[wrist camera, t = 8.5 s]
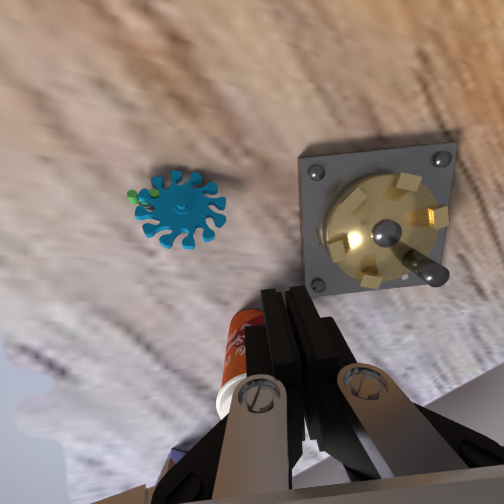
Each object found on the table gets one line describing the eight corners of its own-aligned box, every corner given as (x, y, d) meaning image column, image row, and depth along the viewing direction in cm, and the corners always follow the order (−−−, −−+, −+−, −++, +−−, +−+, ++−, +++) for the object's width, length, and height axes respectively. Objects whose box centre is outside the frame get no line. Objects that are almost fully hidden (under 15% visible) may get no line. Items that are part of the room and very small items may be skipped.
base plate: (297, 157, 35) (302, 159, 33) (446, 142, 35) (461, 142, 33) (302, 290, 42) (306, 300, 39) (428, 276, 42) (440, 285, 39)
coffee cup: (240, 292, 41) (242, 370, 27) (288, 317, 43) (314, 402, 29) (211, 335, 43) (199, 428, 29) (258, 357, 45) (268, 454, 31)
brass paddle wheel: (300, 231, 36) (315, 252, 29) (382, 146, 33) (419, 148, 26) (370, 293, 40) (397, 324, 33) (449, 221, 37) (497, 240, 30)
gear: (239, 183, 34) (209, 257, 30) (233, 210, 40) (208, 276, 35) (148, 152, 34) (105, 222, 30) (155, 184, 39) (119, 247, 35)
